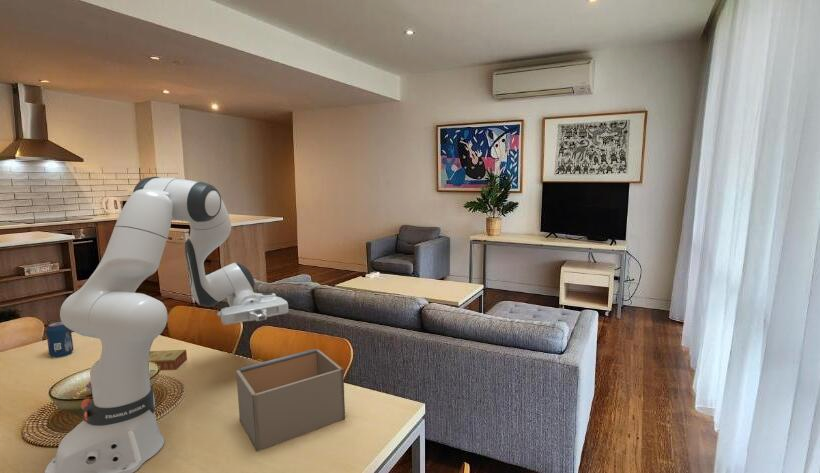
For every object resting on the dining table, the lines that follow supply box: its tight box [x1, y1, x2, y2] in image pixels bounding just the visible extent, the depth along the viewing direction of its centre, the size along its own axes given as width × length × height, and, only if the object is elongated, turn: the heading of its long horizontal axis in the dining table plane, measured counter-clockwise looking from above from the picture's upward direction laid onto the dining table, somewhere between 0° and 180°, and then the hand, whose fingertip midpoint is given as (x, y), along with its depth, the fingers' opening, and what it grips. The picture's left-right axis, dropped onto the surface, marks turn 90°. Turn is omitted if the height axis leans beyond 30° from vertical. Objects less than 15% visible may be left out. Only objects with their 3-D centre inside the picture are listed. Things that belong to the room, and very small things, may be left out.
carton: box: [149, 349, 188, 371], centre depth 146 cm, size 8×16×4 cm, turn 94°
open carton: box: [235, 349, 346, 452], centre depth 112 cm, size 23×16×14 cm
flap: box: [239, 348, 317, 393], centre depth 118 cm, size 21×1×14 cm, turn 125°
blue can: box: [45, 320, 74, 359], centre depth 155 cm, size 7×7×12 cm
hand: (261, 317), depth 128 cm, fingers closed
